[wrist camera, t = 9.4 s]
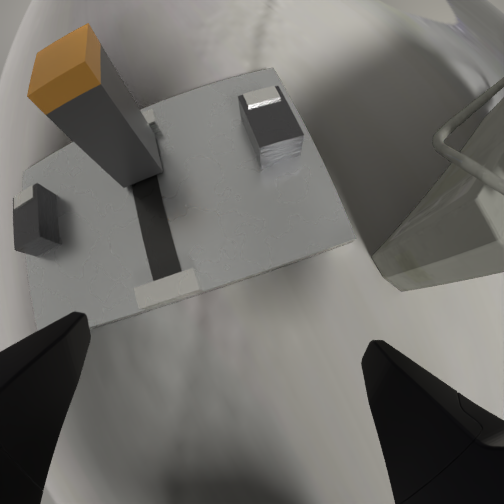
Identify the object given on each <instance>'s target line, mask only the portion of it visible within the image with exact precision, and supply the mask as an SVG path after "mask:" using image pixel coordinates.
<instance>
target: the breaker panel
mask: <svg viewBox="0 0 504 504" xmlns="http://www.w3.org/2000/svg"><path fill="white" fill-rule="evenodd" d="M140 111H141V113H142V114H143V116H144V117H145V119H146V121H147V122H148V124H149V126H150V127H151V129H152V131H153V132H154V134H155V139H156V143H157V148H158V152H159V157H160V161H161V165H162V170H163V172H162V173H159V174H157V175H154V176H152V177H149V178H147V179H144V180H142V181H139V182H137V183H135V184H132V185H130V186H127V187H125V188H123V187H122V186H121V185H120V184H119V183H118V182H117V181H115V180H114V179H113V178H112V177H111V176H110V175H109V174H108V173H107V172H106V171H105V170H103V169H102V168H101V167H100V166H99V165H98V164H97V163H96V162H95V161H94V160H93V159H92V158H90V157H89V156H88V155H87V154H86V153H85V152H84V151H83V150H82V149H81V148H80V147H79V146H78V145H77V144H76V143H75V142H72V143H70V144H69V145H67V146H65V147H63V148H61V149H60V150H58V151H56V152H54V153H53V154H51V155H49V156H48V157H46V158H44V159H43V160H41V161H40V162H38V163H36V164H35V165H33V166H32V167H30V168H28V169H27V170H25V171H24V172H23V183H22V192H20V193H19V194H17V195H16V196H14V198H13V227H14V246H15V250H16V251H19V252H22V253H25V258H26V267H27V275H28V283H29V290H30V296H31V302H32V307H33V313H34V318H35V323H36V327H37V331H38V330H40V329H42V328H44V327H46V326H48V325H49V324H51V323H53V322H55V321H57V320H59V319H60V318H62V317H64V316H66V315H68V314H70V313H72V312H74V311H77V312H82V313H85V314H86V315H87V318H88V324H89V329H92V328H95V327H99V326H102V325H105V324H109V323H112V322H115V321H118V320H122V319H125V318H128V317H131V316H134V315H138V314H141V313H144V312H147V311H150V310H154V309H157V308H160V307H163V306H166V305H169V304H172V303H175V302H179V301H182V300H185V299H188V298H191V297H194V296H197V295H200V294H203V293H206V292H209V291H212V290H215V289H218V288H221V287H224V286H227V285H230V284H233V283H236V282H239V281H242V280H245V279H248V278H251V277H254V276H257V275H260V274H263V273H266V272H269V271H272V270H274V269H277V268H280V267H283V266H286V265H289V264H292V263H295V262H298V261H300V260H303V259H306V258H309V257H312V256H315V255H317V254H320V253H323V252H326V251H329V250H331V249H334V248H337V247H340V246H343V245H345V244H348V243H351V242H353V241H354V240H355V239H356V236H355V233H354V231H353V228H352V226H351V223H350V221H349V219H348V216H347V214H346V211H345V209H344V207H343V204H342V202H341V200H340V197H339V195H338V193H337V191H336V188H335V186H334V184H333V182H332V180H331V177H330V175H329V173H328V171H327V169H326V167H325V164H324V162H323V160H322V158H321V156H320V154H319V152H318V150H317V148H316V146H315V144H314V142H313V140H312V138H311V136H310V134H309V132H308V130H307V128H306V126H305V124H304V122H303V120H302V118H301V116H300V114H299V113H298V111H297V109H296V107H295V105H294V103H293V101H292V100H291V98H290V96H289V94H288V92H287V91H286V89H285V87H284V85H283V83H282V82H281V80H280V78H279V76H278V75H277V73H276V71H275V70H274V68H269V69H264V70H260V71H256V72H252V73H248V74H244V75H240V76H236V77H233V78H229V79H226V80H222V81H219V82H216V83H212V84H209V85H206V86H203V87H200V88H197V89H194V90H191V91H188V92H185V93H182V94H179V95H177V96H174V97H171V98H168V99H166V100H163V101H161V102H158V103H155V104H153V105H150V106H148V107H146V108H143V109H141V110H140Z"/></svg>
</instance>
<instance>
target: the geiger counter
mask: <svg viewBox="0 0 504 504" xmlns="http://www.w3.org/2000/svg"><path fill="white" fill-rule="evenodd" d="M503 87H504V77H503V78H502V79H501V80H500V81H498V82H497V83H496V84H495V85H493V86H492V87H491V88H490V89H488V90H487V91H486V92H484V93H483V94H482V95H481V96H479V97H478V98H477V99H476V100H474V101H473V102H472V103H471V104H469V105H468V106H467V107H465V108H464V109H463V110H462V111H460V112H459V113H458V114H456V115H455V116H454V117H453V118H451V119H450V120H449V121H448V122H447V123H446V124H444V125H443V126H442V127H441V128H440V129H439V130H438V131H437V132H436V133H435V134H434V136H433V142H432V143H433V146H434V148H435V150H436V151H437V152H438V153H439V154H441V155H442V156H443V157H444V158H446V159H447V160H449V161H451V162H452V163H451V164H450V166H449V167H448V168H447V170H446V171H445V172H444V173H443V175H442V176H441V177H440V178H439V180H438V181H437V182H436V183H435V185H434V186H433V187H432V188H431V190H430V191H429V192H428V193H427V194H426V196H425V197H424V198H423V199H422V200H421V202H420V203H419V204H418V205H417V206H416V207H415V209H414V210H413V211H412V212H411V213H410V214H409V216H408V217H407V218H406V219H405V220H404V221H403V223H402V224H401V225H400V226H399V227H398V228H397V229H396V230H395V232H394V233H393V234H392V235H391V236H390V237H389V238H388V239H387V240H386V242H385V243H384V244H383V245H382V246H381V247H380V248H379V249H378V250H377V251H376V252H375V253H374V254H373V256H372V259H373V261H374V262H375V264H376V265H377V267H378V269H379V270H380V272H381V274H382V275H383V277H384V278H385V279H386V280H387V281H389V282H390V283H391V284H392V285H394V286H395V287H396V288H397V289H399V290H400V291H401V292H403V291H409V290H415V289H420V288H426V287H432V286H437V285H442V284H448V283H453V282H458V281H463V280H468V279H473V278H478V277H482V276H487V275H492V274H496V273H501V272H504V98H503V99H502V100H501V101H500V102H499V103H498V104H497V105H496V106H495V107H494V108H493V109H492V110H491V111H490V112H489V113H488V114H487V115H486V117H485V118H484V119H483V121H482V122H481V124H480V125H479V127H478V128H477V129H476V131H475V132H474V134H473V135H472V136H471V138H470V139H469V141H468V142H467V143H466V145H465V146H464V147H463V149H462V150H461V151H460V152H458V151H456V150H455V149H453V148H451V147H449V146H448V145H446V144H444V140H445V139H446V138H447V136H448V135H449V134H450V133H452V132H453V131H454V130H455V129H456V128H457V127H458V126H459V125H460V124H462V123H463V122H464V121H465V120H466V119H467V118H469V117H470V116H471V115H472V114H473V113H474V112H476V111H477V110H478V109H479V108H480V107H481V106H483V105H484V104H485V103H486V102H487V101H488V100H489V99H491V98H492V97H493V96H494V95H495V94H496V93H497V92H498V91H500V90H501V89H502V88H503Z"/></svg>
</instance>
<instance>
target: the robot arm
mask: <svg viewBox="0 0 504 504" xmlns="http://www.w3.org/2000/svg"><path fill="white" fill-rule="evenodd" d="M90 338H91V335H90V329H89V324H88V318H87V315H86V314H85V313H82V312H77V311H74V312H72V313H70V314H68V315H66V316H64V317H62V318H60V319H59V320H57V321H55V322H53V323H51V324H49V325H48V326H46V327H44V328H42V329H40V330H38V331H37V332H35V333H33V334H31V335H29V336H28V337H26V338H24V339H22V340H20V341H19V342H17V343H15V344H13V345H12V346H10V347H8V348H6V349H5V350H3V351H1V352H0V504H40V503H41V498H42V494H43V490H44V486H45V482H46V478H47V474H48V471H49V467H50V464H51V460H52V457H53V453H54V450H55V447H56V444H57V441H58V437H59V434H60V431H61V428H62V425H63V422H64V420H65V417H66V414H67V411H68V408H69V406H70V403H71V400H72V397H73V395H74V392H75V390H76V387H77V384H78V381H79V378H80V375H81V371H82V367H83V364H84V360H85V357H86V353H87V350H88V346H89V343H90ZM361 365H362V370H363V375H364V380H365V386H366V391H367V397H368V401H369V405H370V409H371V412H372V416H373V419H374V423H375V426H376V430H377V433H378V437H379V441H380V444H381V448H382V452H383V455H384V459H385V463H386V467H387V471H388V475H389V479H390V483H391V487H392V492H393V496H394V500H395V504H504V420H502V419H500V418H499V417H497V416H495V415H493V414H492V413H490V412H488V411H487V410H485V409H483V408H482V407H480V406H478V405H477V404H475V403H474V402H472V401H470V400H469V399H467V398H466V397H465V396H463V395H462V394H460V393H457V391H456V390H454V389H453V388H451V387H450V386H449V385H447V384H446V383H444V382H443V381H441V380H440V379H438V378H437V377H435V376H434V375H433V374H431V373H430V372H428V371H427V370H425V369H424V368H422V367H421V366H419V365H418V364H417V363H415V362H414V361H412V360H411V359H409V358H408V357H406V356H405V355H404V354H402V353H401V352H399V351H398V350H396V349H395V348H393V347H392V346H390V345H389V344H388V343H386V342H385V341H383V340H372V341H371V342H370V343H369V345H368V347H367V349H366V351H365V353H364V356H363V358H362V362H361Z"/></svg>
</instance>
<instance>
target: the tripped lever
mask: <svg viewBox="0 0 504 504" xmlns="http://www.w3.org/2000/svg"><path fill="white" fill-rule="evenodd" d="M27 97H28V98H29V99H30V100H31V101H32V102H33V103H34V104H35V105H36V106H37V107H38V108H39V109H40V110H41V111H42V112H43V113H44V114H45V115H46V116H47V117H48V118H50V119H51V120H52V121H53V122H54V123H55V124H56V125H57V126H58V127H59V128H60V129H61V130H62V131H63V132H64V133H65V134H66V135H67V136H68V137H69V138H70V139H71V140H72V141H73V142H75V143H76V144H77V145H78V146H79V147H80V148H81V149H82V150H83V151H84V152H85V153H86V154H87V155H88V156H89V157H90V158H92V159H93V160H94V161H95V162H96V163H97V164H98V165H99V166H100V167H101V168H102V169H103V170H105V171H106V172H107V173H108V174H109V175H110V176H111V177H112V178H113V179H114V180H115V181H117V182H118V183H119V184H120V185H121V186H122V187H123V188H125V187H127V186H130V185H132V184H135V183H137V182H139V181H142V180H144V179H147V178H149V177H152V176H154V175H157V174H159V173H162V172H163V170H162V165H161V161H160V157H159V152H158V148H157V143H156V139H155V134H154V132H153V131H152V129H151V127H150V126H149V124H148V122H147V121H146V119H145V117H144V116H143V114H142V113H141V111H140V109H139V108H138V106H137V104H136V103H135V101H134V99H133V98H132V96H131V94H130V93H129V91H128V89H127V88H126V86H125V84H124V83H123V81H122V79H121V78H120V76H119V74H118V73H117V71H116V69H115V68H114V66H113V64H112V63H111V61H110V59H109V57H108V56H107V54H106V52H105V51H104V49H103V47H102V46H101V44H100V42H99V40H98V39H97V37H96V35H95V34H94V32H93V30H92V28H91V27H90V25H89V23H88V24H86V25H84V26H82V27H80V28H78V29H76V30H75V31H73V32H71V33H69V34H67V35H66V36H64V37H62V38H61V39H59V40H57V41H55V42H54V43H52V44H51V45H49V46H47V47H46V48H44V49H43V50H41V51H40V52H38V53H37V55H36V59H35V63H34V67H33V71H32V75H31V80H30V85H29V89H28V94H27Z"/></svg>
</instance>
